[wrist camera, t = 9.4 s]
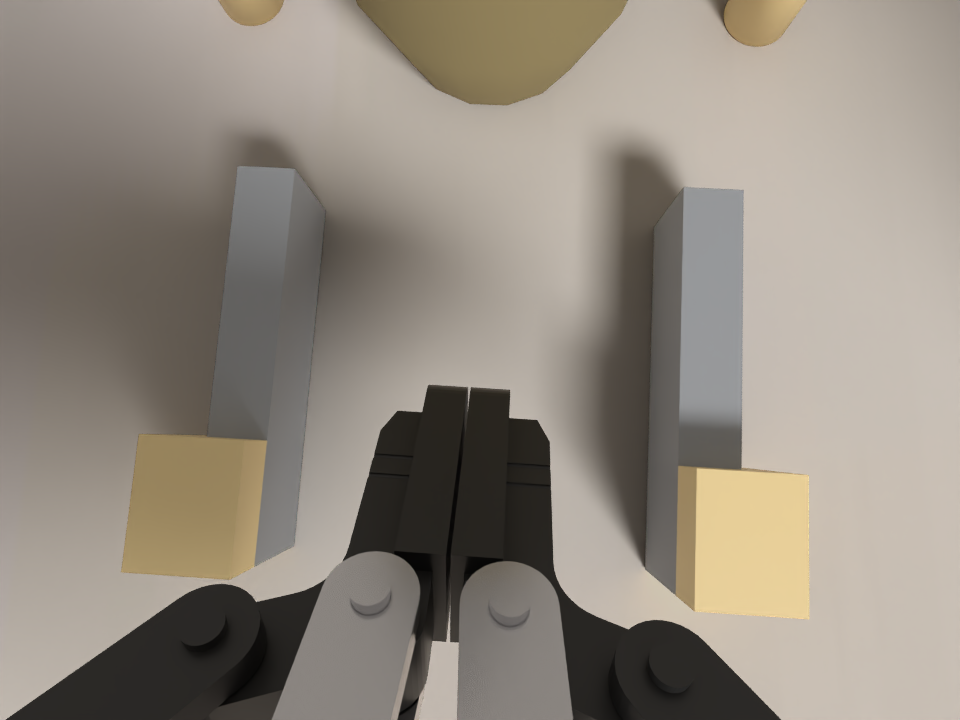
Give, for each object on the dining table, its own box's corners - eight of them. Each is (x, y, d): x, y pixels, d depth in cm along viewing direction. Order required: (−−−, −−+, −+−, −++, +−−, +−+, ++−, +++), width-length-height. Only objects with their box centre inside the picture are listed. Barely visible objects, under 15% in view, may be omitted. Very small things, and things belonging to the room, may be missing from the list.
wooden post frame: (788, -12, 20) (914, -205, 14) (788, 578, 18) (940, 650, 12) (226, -33, 20) (115, -228, 14) (156, 536, 18) (-9, 584, 12)
